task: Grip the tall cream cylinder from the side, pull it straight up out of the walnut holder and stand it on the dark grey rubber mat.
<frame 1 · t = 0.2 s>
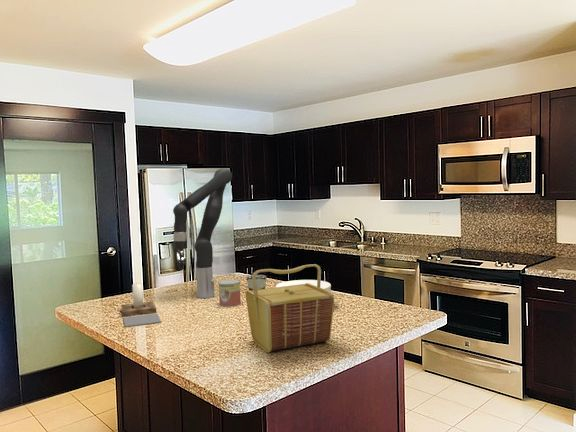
hand: (180, 268, 266), 17 cm above the countertop, tool pointing down, fingers open, 8 cm apart
picnic basket: (290, 342, 187), on the countertop
cream cylinder: (138, 297, 244), in the walnut holder
canned food: (230, 304, 253), on the countertop
plate stack: (303, 307, 241), on the countertop
grey mat: (141, 320, 225), on the countertop
walnut holder: (138, 311, 244), on the countertop
food container: (257, 292, 279), on the countertop
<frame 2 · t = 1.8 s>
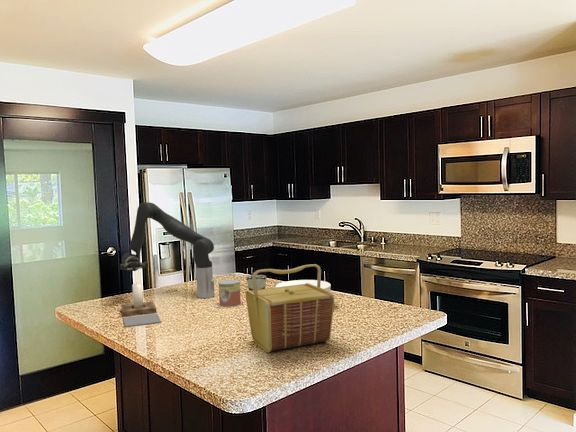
hand: (134, 267, 253), 21 cm above the countertop, tool horizontal, fingers open, 8 cm apart
nothing on the countertop moved.
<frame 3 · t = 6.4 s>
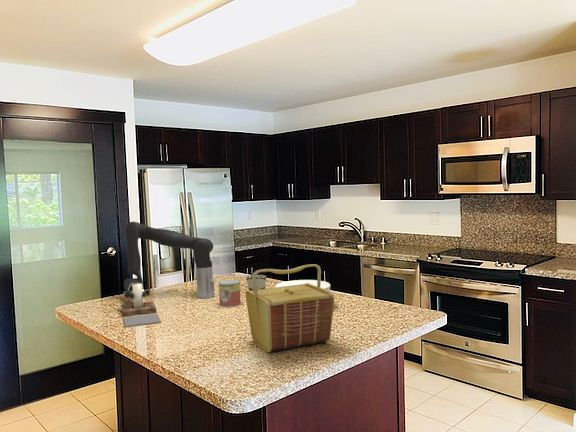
hand: (138, 295, 241), 9 cm above the countertop, tool horizontal, fingers closed on cream cylinder, 4 cm apart
cream cylinder: (138, 297, 244), in the walnut holder, touching gripper
everything else where it was.
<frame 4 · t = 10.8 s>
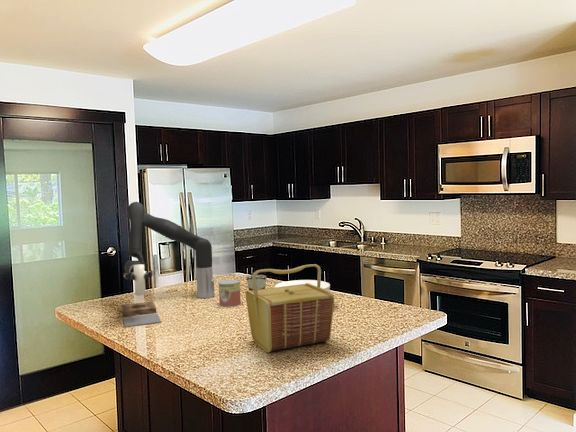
hand: (140, 277, 222), 21 cm above the countertop, tool horizontal, fingers closed on cream cylinder, 4 cm apart
cream cylinder: (139, 279, 224), point 20 cm above the countertop, touching gripper
everything else where it was.
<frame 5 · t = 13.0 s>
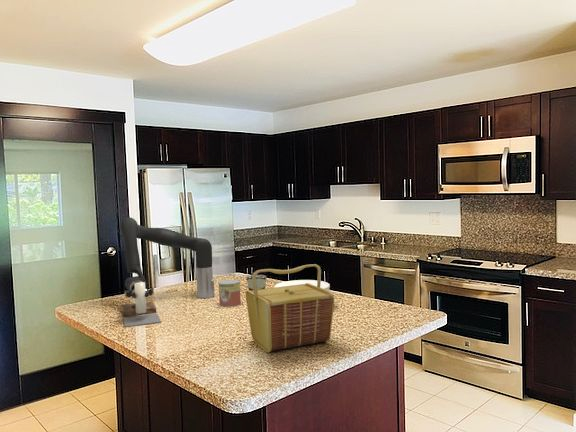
hand: (140, 295, 222), 13 cm above the countertop, tool horizontal, fingers closed on cream cylinder, 4 cm apart
cream cylinder: (140, 297, 225), point 11 cm above the countertop, touching gripper
everything else where it was.
when the fingers open (11 cm above the countertop, at t = 15.0 s): cream cylinder drops 2 cm, resting on grey mat.
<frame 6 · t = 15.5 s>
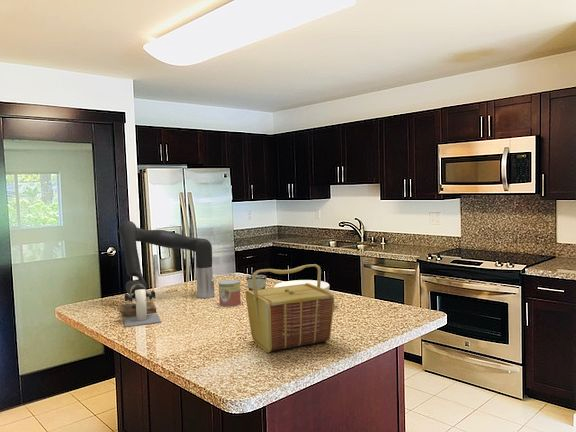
hand: (141, 298, 223), 11 cm above the countertop, tool horizontal, fingers open, 8 cm apart
cream cylinder: (141, 304, 225), on the grey mat, point 8 cm above the countertop
everything else where it was.
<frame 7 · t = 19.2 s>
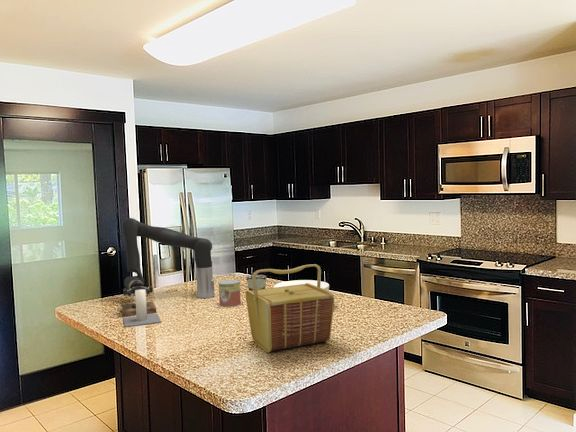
hand: (139, 293, 235), 11 cm above the countertop, tool horizontal, fingers open, 8 cm apart
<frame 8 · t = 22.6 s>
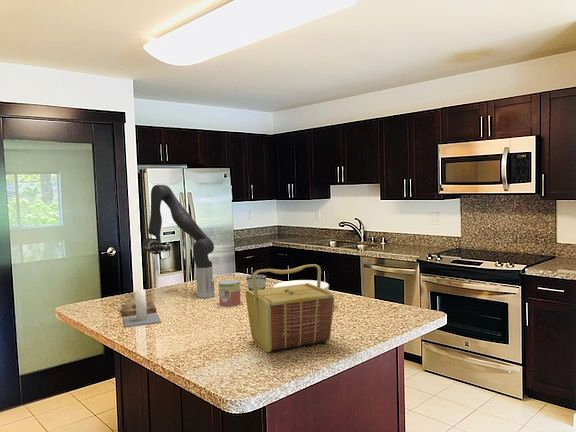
hand: (158, 250, 252), 30 cm above the countertop, tool horizontal, fingers open, 8 cm apart
at the end: cream cylinder inside the target area on the grey mat (0.1 cm from its centre), point 7.6 cm above the grey mat's base; cream cylinder tilted 0°; the gripper is holding nothing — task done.
